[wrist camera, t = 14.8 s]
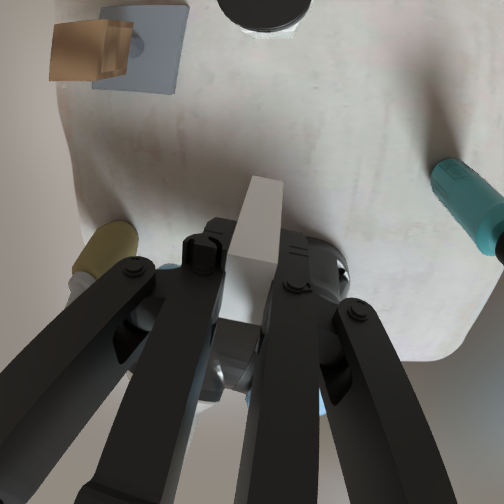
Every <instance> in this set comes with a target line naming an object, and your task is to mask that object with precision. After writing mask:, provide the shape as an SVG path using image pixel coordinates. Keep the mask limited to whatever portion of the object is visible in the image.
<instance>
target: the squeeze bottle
mask: <svg viewBox="0 0 504 504" xmlns="http://www.w3.org/2000/svg"><path fill="white" fill-rule="evenodd" d="M138 241H139V238H138V234H137V232H136V230H135V229H134V227H133V226H131V225H130V224H129V223H127V222H125V221H120V220H116V221H114V222H111V223H109V224H106V225H104V226H102V227H100V228H98V229H97V230H96V231H95V233H94V234H93V236H92V237H91V239H90V240H89V242H88V243H87V245H86V246H85V248H84V249H83V251H82V252H81V254H80V256H79V257H78V259H77V260H76V262H75V263H74V265H73V267H72V274H73V276H72V278H71V279H70V281H69V283H68V284H69V289H70V291H71V294H70V297H69V299H68V302H67V304H66V307H67V306H69V305H70V304H71V303H72V302H73V301H74V300H75V299H76V298H77V297H78V296H79V295H81V294H82V293H83V292H84V291H85V290H86V289H87V288H88V287H90V286H91V285H92V284H93V283H94V282H95V281H96V280H97V279H99V278H100V277H101V276H102V275H103V274H104V273H105V272H107V271H108V270H109V269H110V268H111V267H112V266H114V265H115V264H116V263H117V262H118V261H120V260H122V259H123V258H127V257H130V256H136V253H137V247H138ZM66 307H65V308H66Z"/></svg>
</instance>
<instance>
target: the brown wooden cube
mask: <svg viewBox="0 0 504 504" xmlns="http://www.w3.org/2000/svg"><path fill="white" fill-rule="evenodd" d="M133 24H134V22H128V21H119V20H108V19H99V20H87V21H78V22H70V23H62V24H55V25H54V32H53V39H52V48H51V59H50V73H49V81H98V80H102V79H107V78H111V77H116V76H121V75H126V71H127V63H128V56H129V49H130V42H131V36H132V30H133Z"/></svg>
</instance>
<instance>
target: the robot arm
mask: <svg viewBox="0 0 504 504" xmlns="http://www.w3.org/2000/svg"><path fill="white" fill-rule="evenodd" d="M283 186H284V181H280V180H275V179H270V178H265V177H260V176H254V175H252V178H251V181H250V184H249V187H248V191H247V194H246V197H245V200H244V203H243V206H242V209H241V212H240V215H239V218H238V221H233V220H228V219H223V218H217V217H215V218H213V219H212V220H210V221H209V222H207V224H206V226H205V228H204V231H203V233H200V234H193V235H191V236H189V237H187V238H186V239H185V240H184V241H183V249H182V265H181V266H179V265H177V264H171V263H169V264H164V265H162V266H160V267H159V268H157V269H155V265H154V264H153V262H152V261H151V260H149V259H147V258H145V257H141V256H130V257H127V258H123V259H122V260H120V261H118V262H117V263H116V264H115V265H114V266H112V267H111V268H110V269H109V270H108V271H107V272H105V273H104V274H103V275H102V276H101V277H100V278H99V279H97V280H96V281H95V282H94V283H93V284H92V285H91V286H90V287H88V288H87V289H86V290H85V291H84V292H83V293H82V294H81V295H79V296H78V297H77V298H76V299H75V300H74V301H73V302H72V303H71V304H70V305H69V306H67V307H66V308H65V309H64V310H63V311H62V312H61V313H60V314H59V315H58V316H57V317H56V318H55V319H54V320H53V321H52V322H50V323H49V324H48V325H47V326H46V327H45V328H44V329H43V330H42V331H41V332H40V333H39V334H38V335H37V336H36V337H35V338H34V339H33V340H32V341H31V342H30V343H29V344H28V345H27V346H26V347H25V348H24V349H23V350H22V351H21V352H20V353H19V354H18V355H17V356H16V357H15V358H14V359H13V360H12V361H11V363H9V364H8V366H7V367H6V368H5V369H4V370H3V371H2V372H1V373H0V504H25V503H27V502H28V500H29V499H30V498H31V497H32V496H33V494H34V493H35V492H36V491H37V489H38V488H39V487H40V485H41V484H42V483H43V481H44V480H45V478H46V477H47V476H48V474H49V473H50V472H51V470H52V469H53V468H54V466H55V465H56V464H57V462H58V461H59V460H60V458H61V457H62V455H63V454H64V453H65V451H66V450H67V449H68V447H69V446H70V445H71V443H72V442H73V441H74V440H75V438H76V437H77V436H78V434H79V433H80V432H81V430H82V429H83V428H84V426H85V425H86V424H87V422H88V421H89V420H90V418H91V417H92V416H93V414H94V413H95V412H96V411H97V409H98V408H99V407H100V405H101V404H102V403H103V401H104V400H105V399H106V398H107V396H108V395H109V394H110V392H111V391H112V390H113V389H114V387H115V386H116V385H117V383H118V382H119V381H120V379H121V378H122V377H123V376H124V374H125V373H126V374H127V377H128V379H129V380H130V382H129V384H128V387H127V389H126V392H125V394H124V397H123V399H122V402H121V404H120V407H119V409H118V412H117V415H116V417H115V420H114V423H113V425H112V428H111V431H110V433H109V436H108V439H107V441H106V444H105V447H104V449H103V452H102V455H101V458H100V460H99V463H98V466H97V469H96V472H95V474H94V476H93V478H92V479H91V480H90V481H89V482H87V483H86V484H85V485H83V487H82V488H81V489H80V491H79V492H78V495H77V497H76V499H75V502H74V504H173V502H174V498H175V494H176V489H177V485H178V481H179V477H180V473H181V469H182V465H183V462H184V459H185V457H186V454H187V451H188V448H189V445H190V442H191V440H192V437H193V434H194V431H195V428H196V426H197V423H198V420H199V417H200V414H201V412H202V411H203V410H205V409H207V408H210V407H212V406H214V405H216V404H218V403H219V401H220V398H221V395H222V393H223V390H224V389H225V388H227V389H232V390H234V391H238V392H241V393H244V394H246V398H245V400H246V402H247V406H248V415H247V422H246V429H245V436H244V442H243V449H242V455H241V461H240V468H239V474H238V480H237V486H236V493H235V499H234V504H317V495H318V470H319V416H320V415H323V414H325V413H326V414H327V417H328V421H329V424H330V428H331V431H332V435H333V439H334V443H335V446H336V450H337V454H338V458H339V461H340V465H341V469H342V473H343V476H344V480H345V484H346V488H347V492H348V496H349V500H350V504H457V501H456V498H455V494H454V492H453V489H452V486H451V483H450V480H449V477H448V475H447V471H446V469H445V466H444V463H443V461H442V458H441V455H440V453H439V450H438V447H437V445H436V442H435V440H434V437H433V435H432V432H431V430H430V427H429V425H428V422H427V420H426V418H425V415H424V413H423V411H422V408H421V406H420V404H419V401H418V399H417V397H416V394H415V392H414V390H413V388H412V385H411V383H410V381H409V379H408V377H407V375H406V373H405V370H404V368H403V366H402V364H401V362H400V359H399V357H398V355H397V353H396V351H395V349H394V347H393V345H392V343H391V341H390V339H389V337H388V335H387V333H386V331H385V329H384V327H383V325H382V323H381V321H380V319H379V317H378V315H377V313H376V311H375V310H374V309H373V307H372V306H371V305H369V304H368V303H367V302H365V301H363V300H360V299H357V298H347V294H348V291H349V287H350V276H349V270H348V266H347V263H346V261H345V259H344V257H343V256H342V254H341V253H340V252H339V251H338V250H337V249H336V248H335V247H333V246H332V245H330V244H328V243H326V242H324V241H322V240H319V239H315V238H309V237H305V236H304V235H303V234H302V233H298V232H293V231H288V230H283V229H280V228H281V215H282V201H283Z"/></svg>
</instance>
